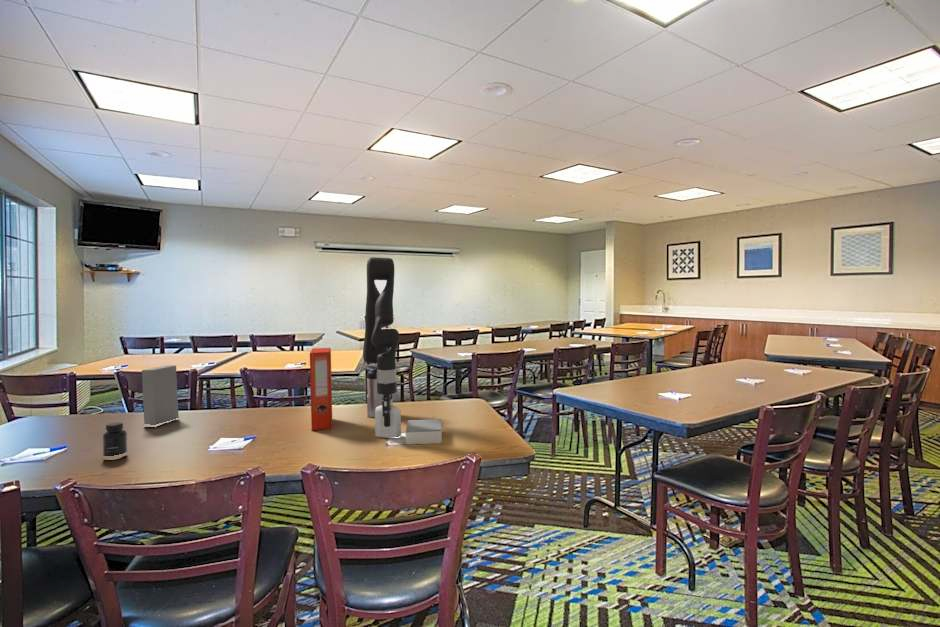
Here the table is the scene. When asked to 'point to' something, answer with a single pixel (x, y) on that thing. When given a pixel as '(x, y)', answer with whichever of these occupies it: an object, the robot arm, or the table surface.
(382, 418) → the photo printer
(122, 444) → the supplement bottle
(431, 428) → the plinth
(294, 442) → the table surface
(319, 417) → the file binder
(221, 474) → the table surface
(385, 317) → the robot arm
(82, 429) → the table surface
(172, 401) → the grey upright panel
